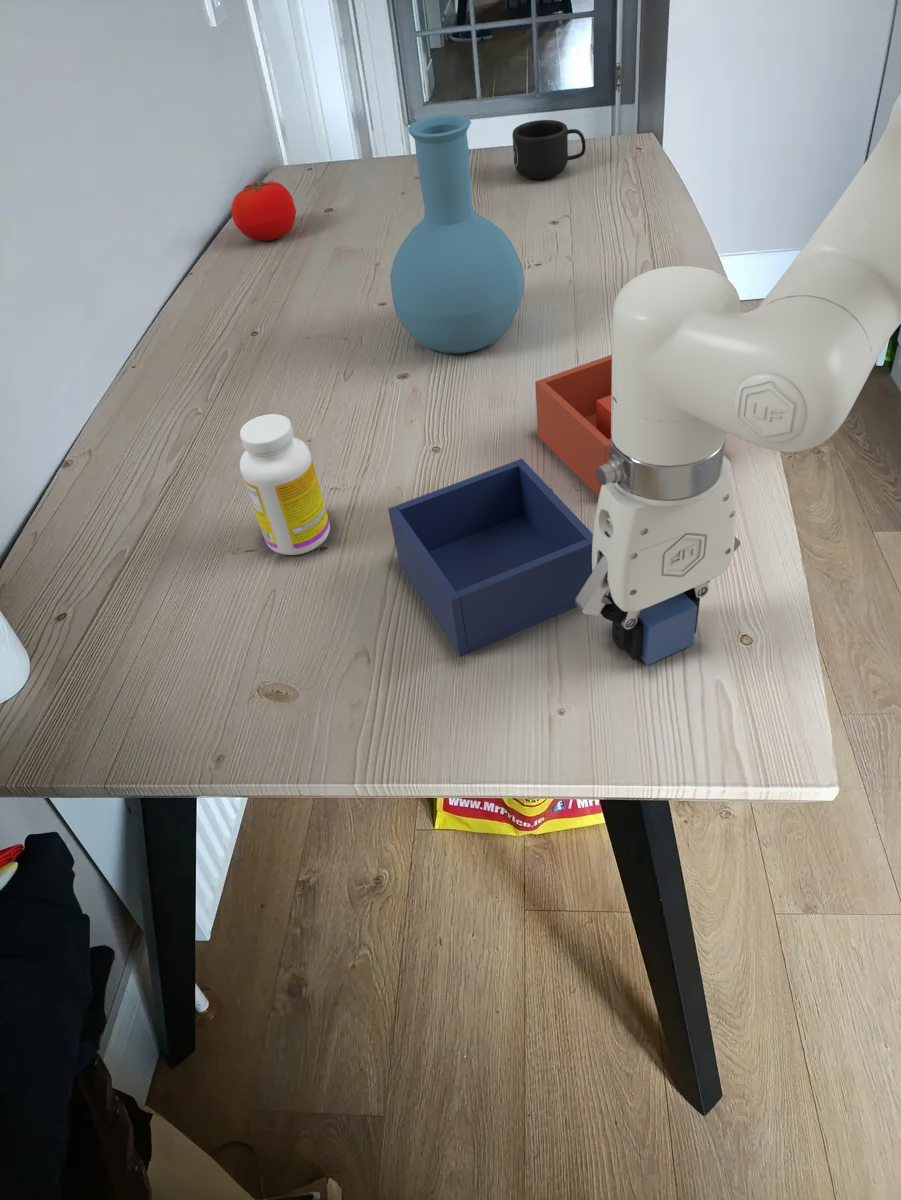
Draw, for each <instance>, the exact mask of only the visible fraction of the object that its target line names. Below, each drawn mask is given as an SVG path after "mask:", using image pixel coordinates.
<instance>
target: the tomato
mask: <svg viewBox="0 0 901 1200" xmlns="http://www.w3.org/2000/svg"><path fill="white" fill-rule="evenodd" d="M296 216H297V208H296V206H295V203H294V199H293V197H292V195H291V193H290V191H289V190H288V189H287V188H286V187H285V186H284V185H283V184H282V183H280V182H277V181H274V179H272V180H270V181H267V182H264V181H253V182H250V183H249V184H247V185H246V186H244V187H243V189H242V190H241V191H239V192H237V194H236V195H235V196H234V197H233V200H232V202H231V217H232V221H233V224H234V225H235V226H236V228H237V230H239V231H240V232H241V233H242V235H244V236H246V237H247V238H249V239H251V240H254V241H267V242H269V241H273V240H277V239H280V238H282V237H284V236H286V235H287V234H288V233H290V232H291V230H292V228H293V226H294V225H295V220H296Z"/></svg>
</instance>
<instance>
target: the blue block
mask: <svg viewBox="0 0 901 1200" xmlns="http://www.w3.org/2000/svg"><path fill="white" fill-rule="evenodd" d="M696 614H697V605H696V604H695V603H694V602H693V601H692V600H691V599H690V598H689V597H688V596H687V595H686V594H685V593H684V592H683V593H680V594H678V595H676V596H673V597H671V598H669V599H666V600H664V601H662V602H659V603H657V604H655V605H652V606H650V607H647V608H645V609H642V610H641V611H640V615H639V618H638V621H639V622H640V623H641V624H642V626H643V637H642V655H641V658H640V660H641V661H642V662H643V664H645V666H649V665H651V664H653V663H656V662H658V661H660V660H662V659H664V658H666V657H669V656H671V655H673V654H676V653H678V652H680V651H682V650H684V649H686V648H688V647H691V646H693V645H694V641H695V634H694V632H695V623H696Z"/></svg>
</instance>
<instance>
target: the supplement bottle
mask: <svg viewBox="0 0 901 1200" xmlns="http://www.w3.org/2000/svg"><path fill="white" fill-rule="evenodd" d="M294 435H295V434H294V429H293V426H292V423H291V421H290V419H289V418H288V417H286V416H285V415H282V414H277V413H269V414H268V413H267V414H263V415H258V416H256V417H253V418H252V419H250V420H248V421H246V422H245V423H244V424H243V425H242V427H240V431H239V437H240V441H241V445H242V447H243V448H244V449H245V450H244V452H243V453H242V455H241V458H240V461H239V470H240V474H241V477H242V479H243V482H244V485H245V487H246V490H247V493H248V496H249V499H250V502H251V505H252V508H253V511H254V513H255V516H256V519H257V522H258V525H259V528H260V531H261V534H262V537H263V539H264V542H265V544H266V545H267V546H268V548H269V549H270V550H271V551H273V552H275V553H277V554H280V555H284V556H285V555H286V556H297V555H303V554H305V553H309V552H311V551H313V550H315V549H316V548H318V547H320V546H321V545H322V544H323V543H324V542H325V541H326V540H327V538H328V537H329V534H330V531H331V530H330V529H331V523H330V518H329V515H328V512H327V507H326V504H325V501H324V498H323V494H322V491H321V487H320V483H319V480H318V476H317V472H316V469H315V466H314V461H313V457H312V454H311V451H310V448H309V447H308V445H306V443H305V442H304V441H302V440H301V439H299V438H297V437H294Z"/></svg>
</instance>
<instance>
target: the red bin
mask: <svg viewBox="0 0 901 1200" xmlns="http://www.w3.org/2000/svg"><path fill="white" fill-rule="evenodd" d="M534 382H535V383H534V386H535V407H536V426H537V437H538V438H539V439H540V440H541V441H542V442H543V443H544V444H545V445H546V446H547V447H548V448H549V449H550V450H551V451H552V452H553V453H554V454H555V455H556V456H557V457H558V458H559V459H560V460H561V461H562V462H563V463H564V464H565V465H566V466H567V468H569V469H570V470H571V471H572V472H573V473H574V474H575V475H576V476H577V477H578V478H579V479H580V480H581V481H582V482H583V483H584V485H586V486H587V487H588V488H589V489H590V490H591V491H592V492H593V493H594V494H595V495H596V497H598V498H599V495H600V490H601V487H602V484H601V483H600V481H599V480H598V477H597V474H596V469H597V467H599V466H601V465H604V464H605V462H606V461H608V460H609V449H610V444H611V438H610V439H609V440H608V439H607V438H606V437H605V436H604V435H603V434H602V433H601V432H599V431H598V430H597V429H596V412H597V400H599V399H602V398H604V397H607V396H610V395H612V354H610V355H607V356H604V357H601V358H598V359H596V360H592V361H590V362H587V363H584V364H581V365H578V366H575V367H572V368H570V369H567V370H564V371H560V372H558V373H555V374H553V375H550V376H547V377H544V378H542V379H538V380H535V381H534Z"/></svg>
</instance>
